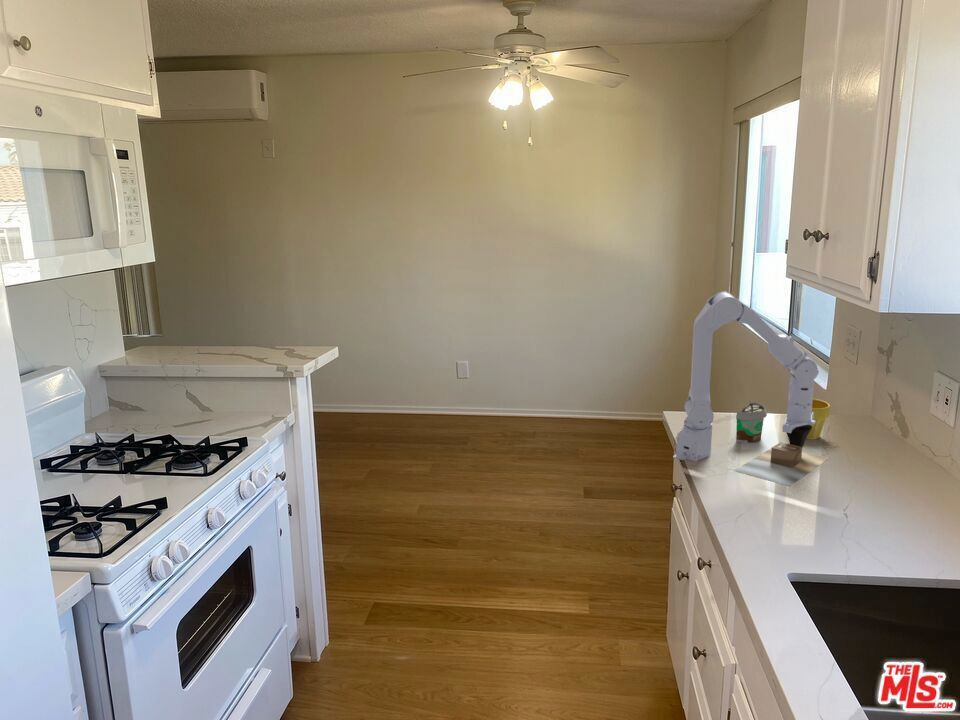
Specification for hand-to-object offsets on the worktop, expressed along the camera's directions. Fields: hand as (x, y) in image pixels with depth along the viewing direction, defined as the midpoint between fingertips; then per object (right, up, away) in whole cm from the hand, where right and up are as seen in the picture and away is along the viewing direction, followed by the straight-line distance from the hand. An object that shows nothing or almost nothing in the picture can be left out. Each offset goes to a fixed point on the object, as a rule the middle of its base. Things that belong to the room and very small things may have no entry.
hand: (796, 451), depth 188 cm
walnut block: (-4, -2, -4) cm, 6 cm away
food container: (-6, +1, +14) cm, 15 cm away
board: (-6, -3, -5) cm, 8 cm away
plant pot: (+11, +2, +17) cm, 21 cm away
